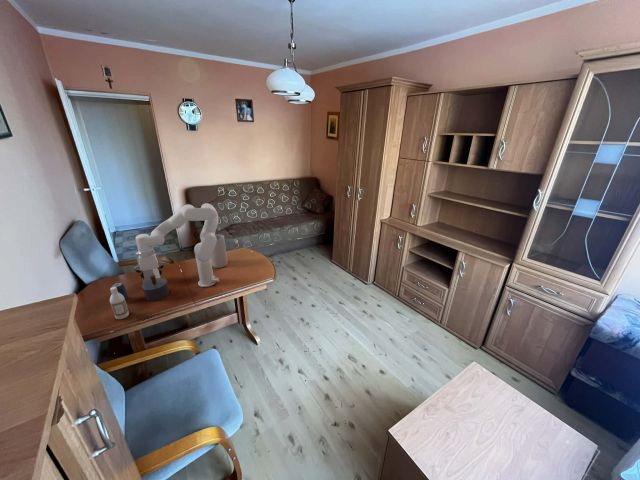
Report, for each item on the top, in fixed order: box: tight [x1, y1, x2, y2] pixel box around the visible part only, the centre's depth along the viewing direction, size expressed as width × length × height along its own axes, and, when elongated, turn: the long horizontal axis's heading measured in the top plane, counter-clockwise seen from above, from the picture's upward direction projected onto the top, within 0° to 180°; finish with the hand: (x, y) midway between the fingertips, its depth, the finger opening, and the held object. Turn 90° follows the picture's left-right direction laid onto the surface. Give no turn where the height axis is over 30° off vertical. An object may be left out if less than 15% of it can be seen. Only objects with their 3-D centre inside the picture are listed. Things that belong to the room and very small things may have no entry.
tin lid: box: [141, 275, 168, 291], centre depth 176 cm, size 15×15×7 cm
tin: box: [142, 283, 170, 302], centre depth 178 cm, size 14×14×8 cm
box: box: [134, 247, 161, 285], centre depth 190 cm, size 8×8×25 cm
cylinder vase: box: [211, 233, 229, 269], centre depth 216 cm, size 12×12×25 cm
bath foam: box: [109, 287, 130, 320], centre depth 156 cm, size 7×7×20 cm
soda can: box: [110, 281, 129, 302], centre depth 172 cm, size 7×7×12 cm
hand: (152, 276), depth 174 cm, fingers open, 9 cm apart
